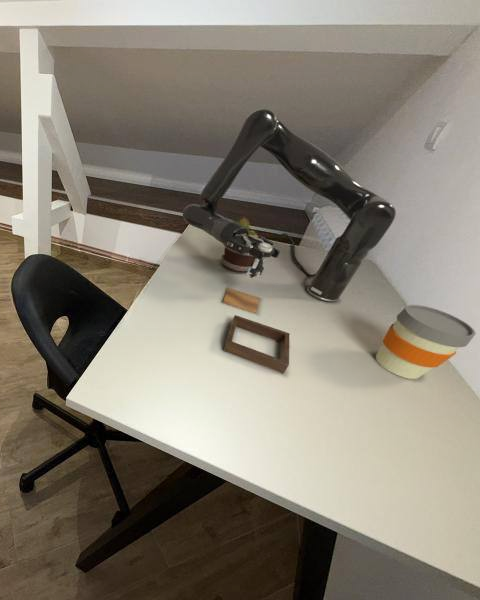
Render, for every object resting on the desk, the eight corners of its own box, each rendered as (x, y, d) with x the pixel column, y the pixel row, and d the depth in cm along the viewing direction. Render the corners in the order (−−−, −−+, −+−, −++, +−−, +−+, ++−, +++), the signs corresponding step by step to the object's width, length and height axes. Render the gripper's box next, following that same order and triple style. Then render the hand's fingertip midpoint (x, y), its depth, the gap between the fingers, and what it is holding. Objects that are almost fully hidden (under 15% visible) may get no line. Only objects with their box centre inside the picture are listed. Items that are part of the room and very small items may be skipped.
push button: (252, 282, 92) (266, 252, 86) (237, 274, 96) (249, 244, 90) (265, 276, 95) (280, 247, 89) (250, 268, 99) (263, 240, 92)
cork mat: (227, 289, 106) (227, 288, 106) (258, 298, 103) (259, 297, 102) (222, 302, 99) (223, 301, 99) (256, 313, 95) (256, 312, 95)
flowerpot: (250, 261, 126) (271, 213, 115) (259, 279, 114) (283, 227, 103) (213, 255, 128) (230, 208, 117) (218, 272, 116) (237, 221, 105)
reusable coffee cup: (428, 366, 81) (474, 321, 72) (430, 393, 73) (481, 346, 64) (369, 342, 87) (404, 298, 79) (364, 364, 80) (403, 318, 71)
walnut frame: (231, 323, 90) (234, 314, 89) (284, 341, 85) (289, 333, 83) (223, 350, 80) (227, 341, 78) (283, 373, 75) (289, 365, 73)
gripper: (214, 222, 97) (256, 245, 84) (249, 220, 102) (294, 241, 89) (207, 244, 101) (246, 269, 89) (241, 241, 106) (282, 264, 93)
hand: (270, 255), depth 89 cm, fingers closed on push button, 5 cm apart
